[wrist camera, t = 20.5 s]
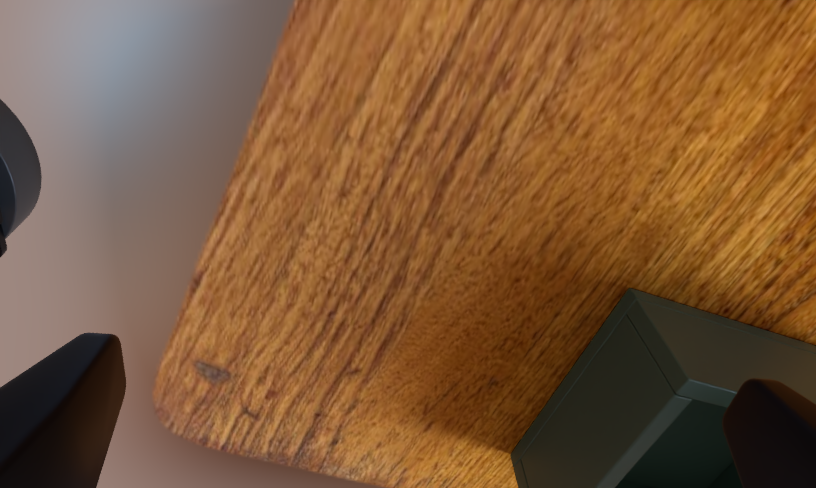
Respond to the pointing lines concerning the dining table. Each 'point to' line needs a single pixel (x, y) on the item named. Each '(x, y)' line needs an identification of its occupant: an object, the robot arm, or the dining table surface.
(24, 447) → the robot arm
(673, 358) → the box
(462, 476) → the dining table surface
